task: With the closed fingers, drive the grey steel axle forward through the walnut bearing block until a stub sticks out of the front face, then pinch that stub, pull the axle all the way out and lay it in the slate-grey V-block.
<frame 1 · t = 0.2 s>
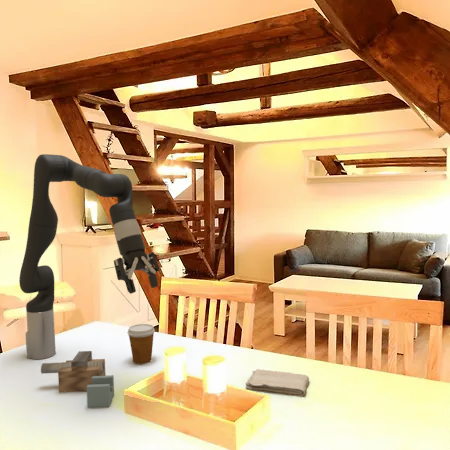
hand: (144, 290, 130), 31 cm above the table, fingers open, 8 cm apart
washcloth: (277, 387, 136), on the table
steel axle: (72, 371, 138), point 4 cm above the table, touching walnut bearing block
disposable coffee cup: (142, 361, 158), on the table
slate V-block: (101, 401, 128), on the table
walnut bearing block: (83, 385, 139), on the table
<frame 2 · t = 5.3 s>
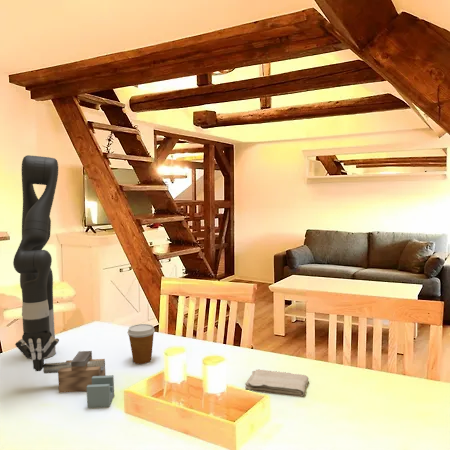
hand: (38, 370, 137), 6 cm above the table, fingers closed
steel axle: (74, 371, 138), point 5 cm above the table, touching gripper
everything else where it was.
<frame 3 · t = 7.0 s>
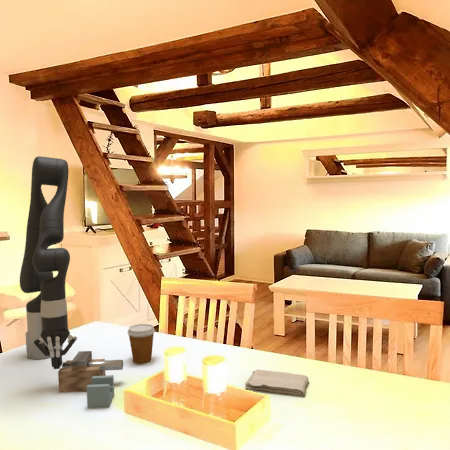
hand: (57, 368, 138), 6 cm above the table, fingers closed
steel axle: (93, 370, 139), point 4 cm above the table, touching walnut bearing block
everything else where it was.
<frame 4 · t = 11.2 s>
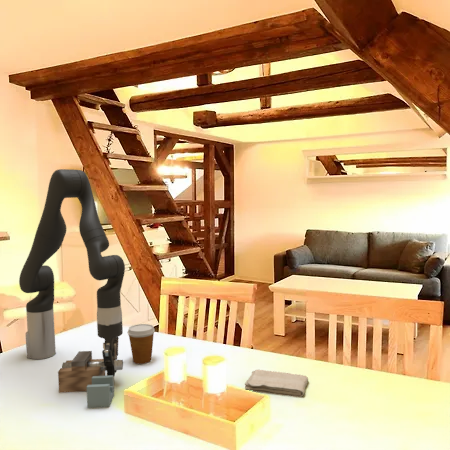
hand: (112, 374, 139), 3 cm above the table, fingers closed on steel axle, 3 cm apart
steel axle: (93, 370, 139), point 5 cm above the table, tilted 6°, touching gripper, walnut bearing block
everything else where it was.
when the fingers open (3 cm above the table, at t = 19.2 s): steel axle drops 1 cm, resting on slate V-block.
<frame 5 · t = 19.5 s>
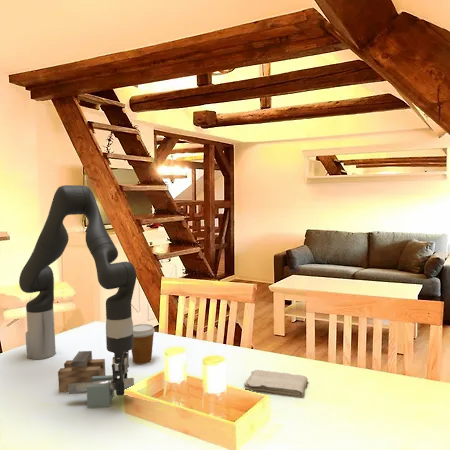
hand: (122, 389, 128), 3 cm above the table, fingers open, 5 cm apart
steel axle: (102, 390, 128), point 3 cm above the table, tilted 8°, touching slate V-block
everything else where it was.
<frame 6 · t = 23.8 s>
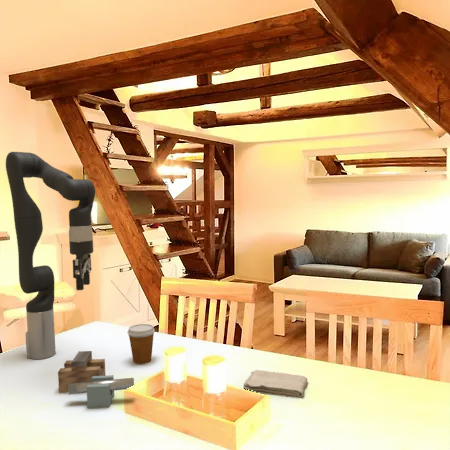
hand: (83, 287, 150), 28 cm above the table, fingers open, 8 cm apart
nothing on the table moved.
at the end: steel axle 0.4 cm off-centre on the slate V-block, point 3.0 cm above the slate V-block's base; steel axle touching slate V-block; the gripper is holding nothing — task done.
